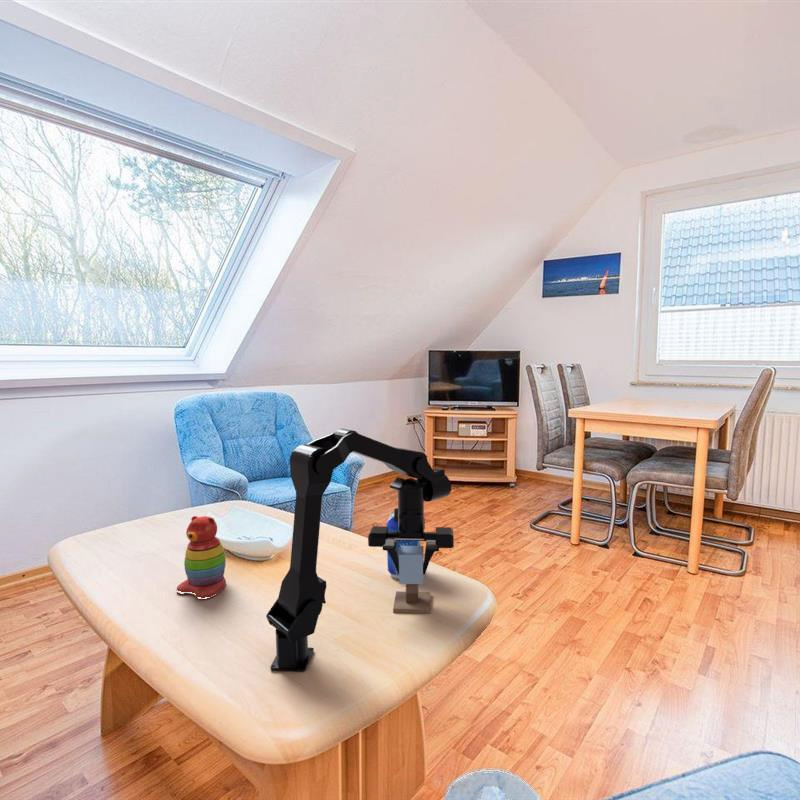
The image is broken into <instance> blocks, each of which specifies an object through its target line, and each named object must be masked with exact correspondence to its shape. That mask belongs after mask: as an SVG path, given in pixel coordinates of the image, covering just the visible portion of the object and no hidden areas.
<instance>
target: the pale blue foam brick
mask: <svg viewBox="0 0 800 800" xmlns="http://www.w3.org/2000/svg"><path fill="white" fill-rule="evenodd" d="M424 556H425V549H424V545H420V546H401V547H400V552H399V579H398V581H399V584H401V585H404V584H405V585H406V584H418V585H423V584H424V578H425V577H424V575H423V564H424Z"/></svg>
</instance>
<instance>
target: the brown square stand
mask: <svg viewBox="0 0 800 800" xmlns="http://www.w3.org/2000/svg"><path fill="white" fill-rule="evenodd" d="M392 613H397V614H398V613H403V614H404V613H405V614H406V613H407V614H409V613H410V614H430V613H431V591H419V584H405V590H404V591H399V590H397V591H395V596H394V603H393V609H392Z"/></svg>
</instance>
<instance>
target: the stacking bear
mask: <svg viewBox="0 0 800 800" xmlns="http://www.w3.org/2000/svg"><path fill="white" fill-rule="evenodd" d="M185 531H186V532H185V533H186V534H185V535H186V537H187V539H188V540H189V542H188V544H187V547H186V549H185V555H184V563H183V564H184V565H183V566H184V571H185V575H186V580H184V581H183V582H181V583H180V584H178V585H177V587H176V591H177V590H178V591H181V592H192V593H195V594H196V596H197V597H201V598H205V597H211V596H213V595H215V594H217V593H218V594H220V593H221V592H222V591H223V590H224V589H225V587H226V586H227V581H226V578H225V576H224V575H225V570H226V563H227V562H226V553H225V550H224V546H223V544H222V542H221V541H220V539H219V538H218V537H217V536H216V535H217V532H218V524H217V521H216V520H215V518H214V517H211V516H209V515H208V516H206V515H203V516H197V515H194V516H192V517H191V521H190V523H189V524H188V526H187V528H186V530H185ZM223 588H224V589H223ZM222 589H223V590H222ZM221 590H222V591H221ZM220 591H221V592H220ZM219 592H220V593H219ZM218 594H217V595H218ZM196 596H195V597H196Z"/></svg>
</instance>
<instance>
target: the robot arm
mask: <svg viewBox="0 0 800 800" xmlns="http://www.w3.org/2000/svg"><path fill="white" fill-rule="evenodd" d="M352 453H353V454H357V455H360V456H363V457H366V458H369V459H371V460H375V461H377V462H380V463H383V465H386V467H387V468H388V469H390V470H391V471H392V472H395V473H397V474H398V475H403V476H406V477H408V478H402V477H399V476H397V477H396V478H395V479H394V481H392V482H391V483H390V485H389V488H390V489H392V490H396V491H397V507H396V508H394V510H393V511H394V522H398V532H388V526H387V525H386V526H385V525H384V526H383V525H382V526H381V525H380V526H379V525H373V526H371V528H370V530H369V533H368V536H367V545H368V547H371V548H382V550H383V551H385V552H386V553H387V552H388V553H389V555H390V557H391V558H392V560H393V562H394V565H395V567H396V570H397V572H398V574H399V550H398V541H420V542H425V549H424V564H423V575H426V573H427V570H428V567H429V563H430V562H431V559H432V557H433V555H434V553H435V552H439V551H440V549H453V548H454V529H453V528H452V527H451V526H450V527H449V526H447V527H445V526H443V527H442V526H436V527H435V531H425V528H426V527H425V526H426V525H425V522H426V521H425V511H424V510H425V509H424V507H425V506H424V504H425V503H424V502H426V503H429V502H432V501H436V500H440V499H442V498H446V497H448V496H449V495H450V494H451V491H452V484H451V482H450V478H449V477H448V476H447V475H446V474H445V471H446V470H445V469H444V468H440V467H438V468H432V466H431V464H430V463H429V461H428V456H427V454H426V453H424V452H423V451H418V450H412V449H408V448H402V447H394V446H392V445H389V444H386V443H383V442H381V441H379V440H376V439H373V438H370V437H368V436H367V435H366V436H365V435H364V434H361V433H359V432H358V431H356V430H353V429H345V428H339V429H336V430H335V431H332V433H330V434H328V435H325V436H322V437H319V438H317V439H314V440H312V441H310V442H308V443H306V444H304V443H303V444H300V445H298V446H296V448H295V449H293V450H292V451H291V453H290V458H289V471H290V478H291V481H292V485H293V487H294V490H295V504H294V515H293V525H292V526H293V527H292V537H291V538H292V541H291V550H290V561H289V562H290V563H289V569H288V571H287V573H286V575H284V577H283V580H282V581H281V584H280V587H279V588H280V589H279V593H278V598H277V599H276V600H275V602H274V603H273V605H272V606H271V608H270V609H269V611H268V612H267V613H266V616H265V618H266V619H267V621H268V624H269V625H270V626H272V627H274V629H275V644H276V645H275V647H276V655H275V657H274V658H273V661H272V663H271V665H270V666H269V667H270V670H271V671H287V672H305V671H306V670H307V669H308V668H307V667H308V666H309V663H310V660H311V658H312V656H313V654H314V651H315V650H314V649H315V648H314V647H309V646H308V645H309V644H308V643H309V641H308V638H309V636H311V635H313V634H315V631H316V628H317V623H318V619H319V616H320V615H321V613H322V609H323V606H324V605H323V604H326V603H327V602H326V590H327V581H326V580H325V579H323V578H321V577H320V576H318V573H317V564H318V553H319V542H320V541H319V540H320V539H319V538H320V528H321V516H322V515H321V514H322V506H323V505H322V504H323V496H324V493H325V492H326V490H327V489H328V487H329V486H330V484H331V482H332V477H333V473H334V470H335V469H337V468H338V467H340V466H341V465H342V464H344V462H345V461H346V460H347V458H348V457H349V455H350V454H352Z"/></svg>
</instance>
